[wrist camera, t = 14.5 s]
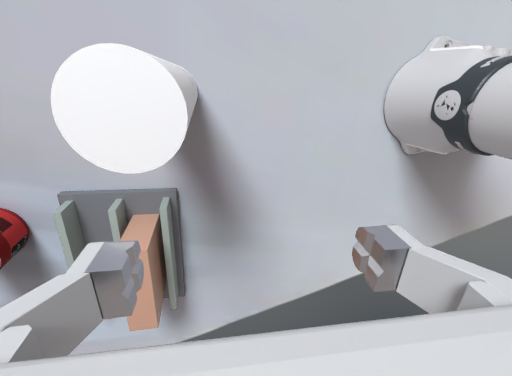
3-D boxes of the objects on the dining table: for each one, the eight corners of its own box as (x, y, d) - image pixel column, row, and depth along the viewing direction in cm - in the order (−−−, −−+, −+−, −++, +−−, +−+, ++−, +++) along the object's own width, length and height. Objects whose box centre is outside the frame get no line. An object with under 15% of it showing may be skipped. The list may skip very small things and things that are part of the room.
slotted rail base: (176, 188, 43) (172, 201, 39) (184, 291, 52) (182, 312, 47) (61, 191, 40) (42, 206, 36) (90, 300, 49) (77, 324, 44)
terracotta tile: (159, 213, 43) (147, 250, 34) (166, 280, 49) (158, 327, 40) (133, 214, 42) (113, 252, 33) (143, 282, 48) (129, 331, 39)
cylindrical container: (148, 57, 35) (48, 24, 13) (201, 71, 37) (196, 64, 15) (143, 110, 38) (52, 162, 15) (193, 121, 40) (179, 181, 17)
